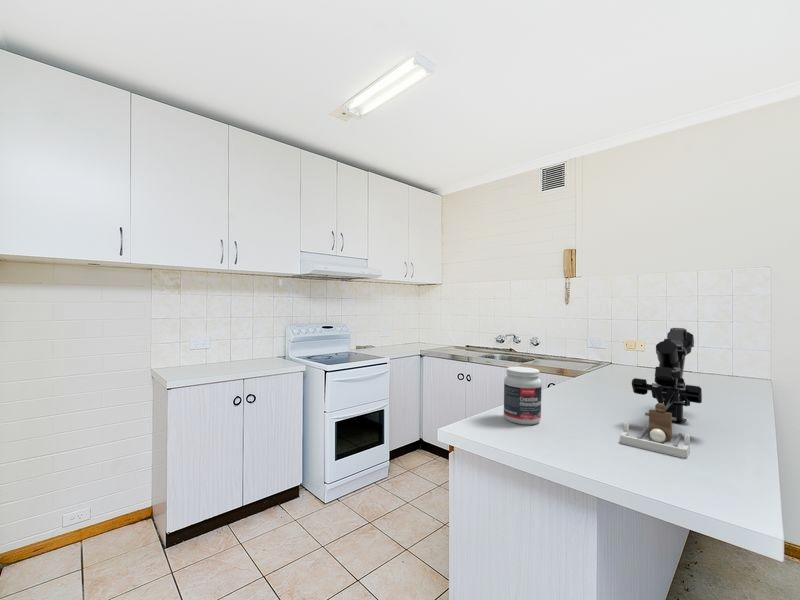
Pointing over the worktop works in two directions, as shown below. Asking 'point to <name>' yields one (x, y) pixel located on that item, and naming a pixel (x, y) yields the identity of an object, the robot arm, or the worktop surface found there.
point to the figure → (661, 420)
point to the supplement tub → (522, 395)
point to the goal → (655, 444)
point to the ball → (657, 435)
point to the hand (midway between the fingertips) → (662, 411)
